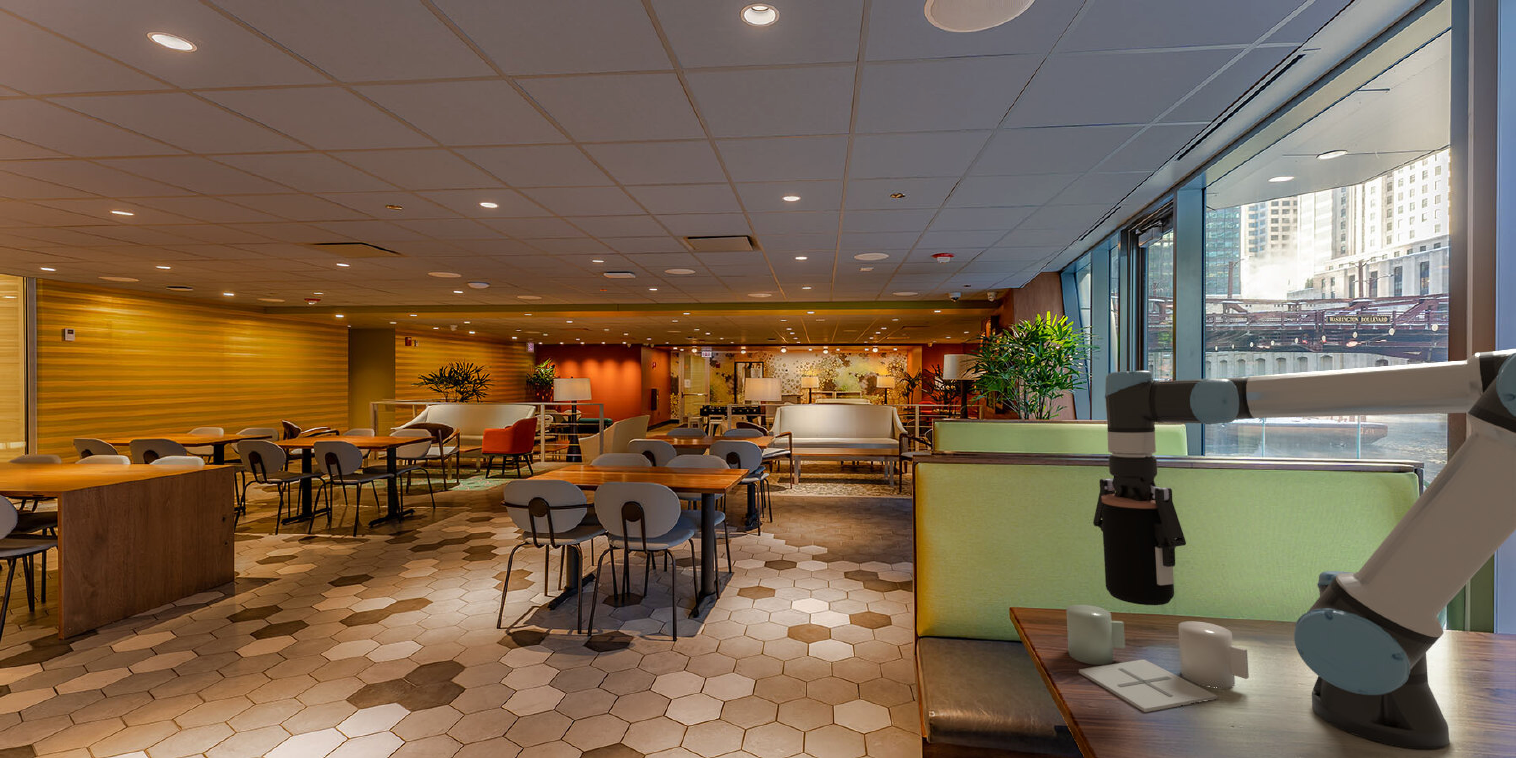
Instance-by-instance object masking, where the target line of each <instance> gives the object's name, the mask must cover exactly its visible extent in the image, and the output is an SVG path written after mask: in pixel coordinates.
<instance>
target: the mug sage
mask: <svg viewBox="0 0 1516 758" xmlns="http://www.w3.org/2000/svg"><path fill="white" fill-rule="evenodd" d="M1065 610H1066V628H1067V645H1068V646H1067V647H1068V649H1067V650H1068V655H1069V657H1070V658H1072V659H1074V660H1076V661H1078V662H1081V663H1084V664H1088V665H1096V666H1105V665H1111V664H1112V663H1113V662H1114V649H1115V648H1117V649H1126V637H1125V635H1126V634H1125V623H1124V621H1121V620H1112V613H1111V612H1110V610H1107V609H1106V608H1102V607H1099V606H1095V605H1090V604H1089V605H1088V604H1072V605H1068V606H1067V607H1066V609H1065Z"/></svg>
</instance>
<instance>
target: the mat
mask: <svg viewBox="0 0 1516 758" xmlns="http://www.w3.org/2000/svg"><path fill="white" fill-rule="evenodd" d="M1078 673H1079V674H1080V675H1082V676H1083V677H1086V678H1087V679H1089V680H1091V681H1092V682H1093V683H1095V684H1097V685H1098V686H1100V687H1102V688H1104V689H1105V690H1107V691H1109V692H1110V693H1112V694H1113V695H1116V696H1117V697H1119V698H1120V699H1122V700H1124V701H1125V702H1127V703H1129V704H1131V705H1132V706H1134V707H1135V708H1137V709H1139V710H1141V711H1142V712H1144V713H1148V712H1153V711H1160V710H1166V709H1171V708H1176V707H1181V705H1183V706H1187V705H1192V704H1191V703H1194V702H1199V701H1204V700H1211V701H1214V700H1213V699H1216V700H1218V695H1216V694H1215V693H1212V692H1210V691H1208V690H1206V689H1204V688H1203V687H1200V686H1199V685H1197V684H1195V683H1193V682H1190V681H1188V680H1187V679H1185V678H1183V677H1180V676H1178V675H1177V674H1174V673H1172V672H1170V671H1168V670H1166V669H1164V668H1162V667H1160V666H1158V665H1156V664H1155V663H1152V662H1150V661H1148V660H1146V659H1137V660H1131V661H1125V662H1120V663H1119V662H1118V663H1113V664H1112V663H1110V664H1106V665H1097V666H1094V667H1087V668H1081V669H1078ZM1199 703H1200V702H1199ZM1194 704H1195V703H1194Z"/></svg>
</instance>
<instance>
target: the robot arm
mask: <svg viewBox="0 0 1516 758" xmlns="http://www.w3.org/2000/svg"><path fill="white" fill-rule="evenodd" d="M1104 392H1105V394H1104V399H1105V408H1106V409H1105V411H1106V422H1107V428H1106V429H1107V452H1108V453H1111V454H1110V456H1108V470H1109V474H1110V475H1111V476H1113V478H1101V479H1099V492H1098V493H1099V494H1098V497H1097V504H1096V509H1095V513H1094V517H1093V526H1094V527H1098V528H1099V529H1100V531H1102V532H1103V522H1102V509H1103V507H1104V506H1105V505H1104V503H1103V502H1102V498H1101V496H1103V495H1107V494H1114V496H1115V497H1124V498H1129V499H1133V500H1135V501H1150V500H1155V503H1156V507H1157V510H1158V513H1159V516H1160V519H1161V522H1162V524H1155V523H1154V529H1155V538H1156V539H1157V541H1158V543H1159V545H1157V546H1156V547H1155V553H1156V572H1157V584H1158V585H1168V584H1174V583H1175V582H1174V567H1175V566H1176V551H1175V550H1176V548H1177V547H1182V546H1186V545H1187V540H1186V538H1185V535H1184V531H1183V529H1182V526H1181V523H1180V521H1179V517H1178V513H1177V511H1176V508H1175V505H1174V501H1173V489H1172V488H1171V487H1159V486H1156V482H1155V478H1156V477H1157V476H1158V463H1157V462H1158V460H1157V457H1156V456H1154V454H1155V453H1156V452H1157V449H1156V448H1157V447H1156V425H1155V424H1156V423H1159V424H1162V423H1163V424H1164V423H1166V424H1167V423H1169V424H1170V423H1177V424H1205V425H1215V424H1216V425H1217V424H1230V423H1233V422H1234V421H1235V420H1245V419H1267V418H1268V419H1271V418H1273V419H1274V418H1276V419H1277V418H1307V417H1309V418H1313V417H1314V418H1316V417H1348V416H1349V417H1350V416H1351V417H1352V416H1353V417H1355V416H1356V417H1357V416H1385V415H1386V416H1389V415H1391V416H1393V415H1394V416H1395V415H1426V414H1466V418H1467V421H1468V422H1469V424H1470V426H1471V430H1472V432H1471V433H1470V435H1469V436H1468V437H1467V438H1466V439H1465V441H1464V442H1463V443H1462V444H1461V446H1460V447H1459V448H1458V449H1457V450H1456V452H1455V453H1454V454H1453V456H1452V457H1451V458H1450V459H1449V460H1448V461H1447V463H1446V464H1445V465H1444V466H1443V467H1442V469H1441V470H1440V472H1439V473H1438V474H1437V475H1436V476H1435V477H1434V479H1433V480H1432V481H1431V482H1430V484H1429V485H1428V486H1427V488H1426V489H1425V490H1424V491H1423V492H1422V493H1421V495H1420V496H1419V497H1418V498H1417V499H1416V500H1415V502H1414V503H1413V504H1412V506H1411V507H1410V508H1409V510H1407V512H1406V513H1405V514H1404V515H1403V516H1402V518H1401V519H1400V520H1399V521H1398V523H1396V526H1395V527H1394V528H1393V529H1392V530H1391V531H1390V533H1389V534H1388V535H1387V536H1386V537H1385V539H1384V540H1383V541H1382V543H1381V544H1380V545H1378V547H1377V548H1376V550H1375V551H1374V552H1373V553H1372V554H1371V556H1369V558H1368V559H1367V560H1366V561H1365V563H1364V564H1363V566H1362V567H1361V568H1360V569H1359V570H1358V571H1356V572H1351V571H1340V570H1327V571H1326V570H1325V571H1323V572H1321V573H1320V574H1319V576H1318V582H1317V584H1316V586H1317V588H1318V591H1319V592H1318V593H1319V597H1318V598H1317V599H1316V601H1315V602H1314V603H1313V604H1312V606H1311V607H1310V609H1308V611H1307V612H1305V613H1302V615H1301V616H1300V617H1299V618H1298V619H1297V621H1296V623H1295V627H1294V633H1293V639H1294V640H1293V642H1294V645H1295V648H1296V650H1297V652H1298V655H1299V656H1300V658H1301V660H1302V661H1303V662H1304V664H1305V665H1306V666H1307V667H1308V668H1309V669H1310V670H1311V671H1312V672H1313V673H1314V674H1316V675H1317V676H1318V677H1317V678H1316V681H1315V683H1314V686H1313V689H1312V690H1311V691H1312V692H1311V706H1312V709H1313V712H1315V714H1317V715H1318V716H1319V717H1320V718H1321V719H1322V720H1325V721H1326V722H1327V723H1328V724H1331V725H1333V726H1335V727H1336V728H1338V729H1341V730H1344V731H1346V732H1348V733H1351V734H1352V735H1353V734H1354V735H1356V736H1359V737H1361V738H1363V739H1368V740H1370V741H1375V742H1378V743H1382V744H1385V745H1390V746H1394V747H1400V748H1408V749H1415V750H1437V749H1440V748H1444V747H1446V746H1447V745H1448V744H1449V743H1450V733H1449V731H1450V730H1449V725H1448V723H1447V720H1446V719H1445V717H1444V715H1443V712H1442V711H1441V708H1440V706H1439V703H1438V702H1437V699H1436V697H1435V695H1434V693H1433V691H1432V688H1431V687H1430V685H1429V678H1428V663H1427V662H1428V659H1427V652H1428V651H1429V650H1430V649H1431V648H1432V647H1433V645H1434V644H1436V642H1437V641H1438V640H1439V639H1440V638H1441V637H1442V636H1443V634H1444V629H1443V627H1442V625H1441V623H1440V620H1439V618H1438V616H1439V615H1440V613H1442V611H1443V610H1444V609H1445V608H1446V606H1448V605H1449V603H1450V602H1451V601H1452V600H1453V599H1454V598H1455V597H1456V596H1457V594H1458V593H1459V592H1460V591H1461V590H1462V589H1463V588H1464V587H1465V586H1466V585H1467V583H1469V581H1470V580H1472V578H1473V577H1474V576H1475V574H1476V573H1478V571H1479V570H1480V569H1481V568H1482V567H1483V566H1485V564H1486V563H1487V562H1488V561H1489V560H1490V559H1491V557H1493V555H1494V554H1495V553H1496V551H1498V549H1499V548H1500V547H1501V546H1502V545H1503V544H1504V543H1505V542H1506V541H1507V540H1508V539H1509V537H1511V535H1512V534H1513V533H1514V532H1515V531H1516V348H1512V349H1504V350H1497V351H1496V350H1495V351H1484V352H1475V353H1474V354H1473V355H1472V356H1470V357H1468V358H1467V359H1465V360H1457V361H1455V360H1454V361H1443V362H1442V361H1440V362H1431V363H1428V362H1427V363H1416V364H1415V363H1414V364H1403V365H1402V364H1401V365H1389V366H1376V367H1374V366H1373V367H1360V368H1348V369H1335V370H1322V371H1321V370H1320V371H1305V372H1293V373H1292V372H1291V373H1280V374H1278V373H1277V374H1266V375H1252V376H1251V375H1250V376H1239V377H1220V378H1217V377H1216V378H1213V377H1212V378H1211V377H1210V378H1200V379H1197V378H1196V379H1178V380H1154V378H1153V373H1152V372H1151V371H1150V370H1132V371H1130V370H1129V371H1113V372H1109V373H1108V374H1107V375H1106V377H1105V391H1104ZM1165 538H1166V540H1165ZM1102 542H1103V541H1102ZM1102 545H1103V546H1104V542H1103V543H1102Z"/></svg>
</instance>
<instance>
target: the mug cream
mask: <svg viewBox="0 0 1516 758" xmlns="http://www.w3.org/2000/svg"><path fill="white" fill-rule="evenodd" d="M1178 639H1179V641H1178V643H1179V657H1180V673H1181V674H1182V675H1181V676H1182V678H1183V679H1185V678H1186V679H1185V680H1187V679H1188V680H1189V681H1188V680H1187V681H1188V682H1190V681H1191V682H1190V683H1193V682H1194V683H1193V684H1195V683H1196V684H1195V685H1198V684H1200V685H1199V686H1201V685H1204V686H1203V687H1205V686H1210V687H1215V688H1214V689H1217V688H1227V689H1231V688H1230V687H1232V686H1234V687H1235V685H1236V681H1235V679H1236V678H1235V677H1238V678H1241V679H1245V680H1247V679H1249V676H1250V675H1249V659H1248V658H1249V657H1248V648H1244V647H1241V646H1237V645H1233V634H1232V632H1231V630H1229V629H1227V628H1225V627H1224V626H1221V625H1217V624H1214V623H1210V622H1205V621H1204V622H1203V621H1196V620H1195V621H1191V620H1190V621H1189V620H1188V621H1182V622H1180V623H1178ZM1234 684H1235V685H1234ZM1210 687H1209V688H1210ZM1216 687H1217V688H1216ZM1232 688H1233V687H1232Z"/></svg>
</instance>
